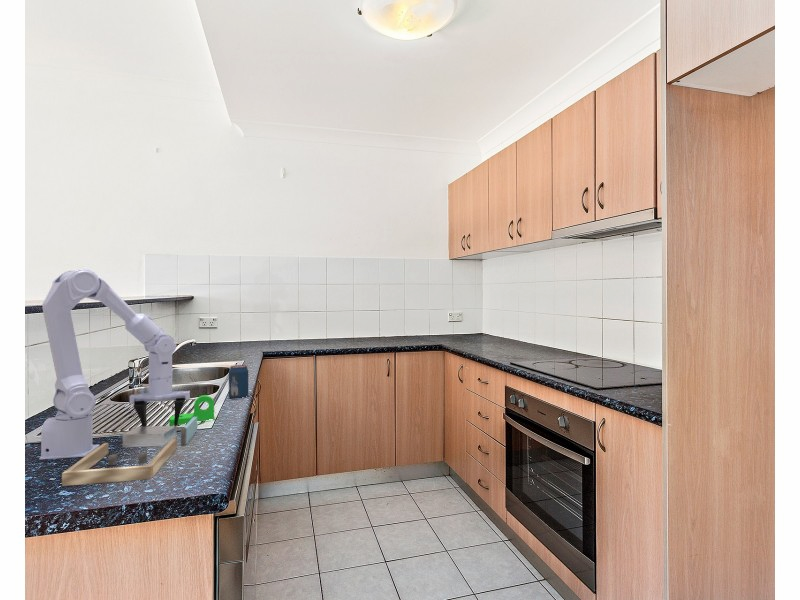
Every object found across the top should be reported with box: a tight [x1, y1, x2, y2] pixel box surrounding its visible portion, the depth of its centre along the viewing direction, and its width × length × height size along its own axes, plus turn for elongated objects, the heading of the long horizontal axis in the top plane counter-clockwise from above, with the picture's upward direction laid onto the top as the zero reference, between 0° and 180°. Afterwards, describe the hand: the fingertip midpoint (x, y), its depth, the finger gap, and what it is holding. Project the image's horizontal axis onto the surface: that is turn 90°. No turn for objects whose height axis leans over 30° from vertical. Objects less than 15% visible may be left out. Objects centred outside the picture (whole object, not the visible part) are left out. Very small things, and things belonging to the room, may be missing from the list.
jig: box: [61, 426, 187, 487], centre depth 100 cm, size 18×22×4 cm
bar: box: [183, 417, 198, 445], centre depth 118 cm, size 1×12×4 cm, turn 13°
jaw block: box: [122, 425, 178, 448], centre depth 114 cm, size 10×7×4 cm
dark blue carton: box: [228, 364, 249, 398], centre depth 166 cm, size 7×7×12 cm
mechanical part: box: [168, 394, 215, 426], centre depth 135 cm, size 12×6×8 cm, turn 114°
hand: (160, 427), depth 123 cm, fingers open, 7 cm apart
